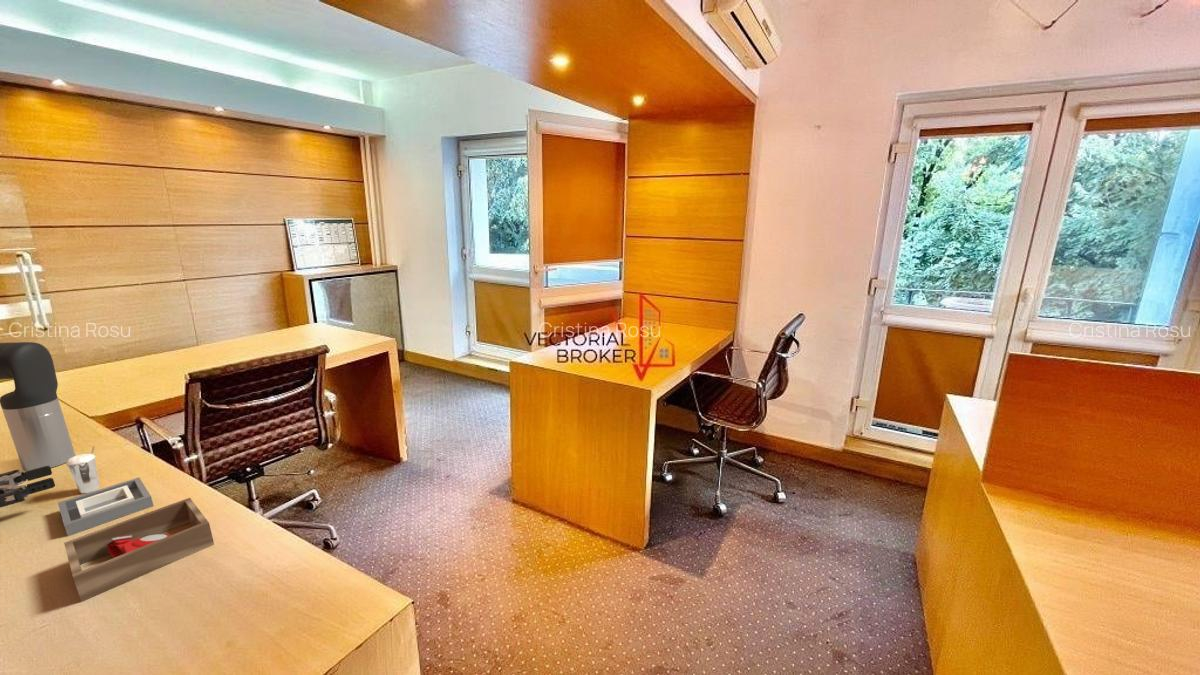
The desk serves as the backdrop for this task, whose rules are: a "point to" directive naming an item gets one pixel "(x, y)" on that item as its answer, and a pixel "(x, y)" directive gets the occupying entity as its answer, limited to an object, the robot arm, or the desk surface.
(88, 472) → the milkshake
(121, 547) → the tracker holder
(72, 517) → the dock box
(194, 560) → the desk surface
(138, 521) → the tray
